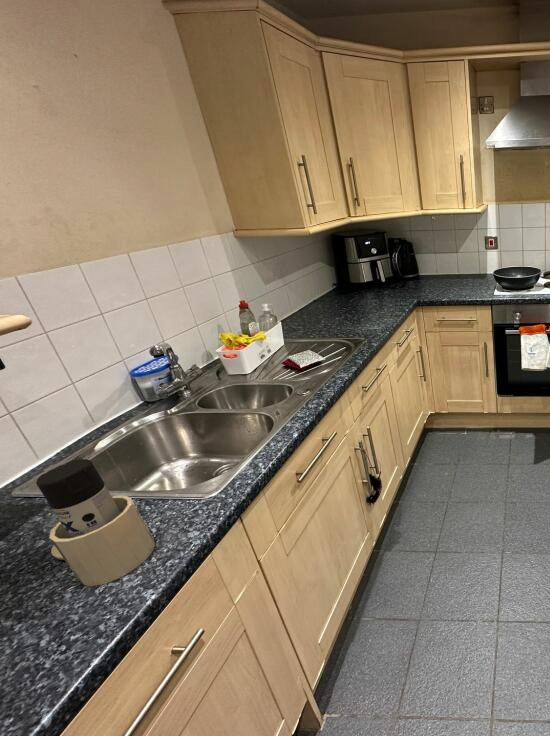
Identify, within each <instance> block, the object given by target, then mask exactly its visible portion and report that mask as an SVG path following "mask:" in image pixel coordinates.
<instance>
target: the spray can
mask: <svg viewBox="0 0 550 736" xmlns="http://www.w3.org/2000/svg"><path fill="white" fill-rule="evenodd" d="M93 463H94V462H92V461H91V460H90V459H87V458H80V459H75V460H71V461H67V462H65V463H64V464H60V465H58V466H56V467H54V468H52V469H50V470H48V471H47V472H44V473H43V474H41V475H40V476H38V478H37V479H36V482H35V483H36V485H37V487H38V489H39V491H40V492H41V494H42V496H43V497H44V499H45V501H46V503H48V506H49V507H50V509H51V510H52V512H53V513H54V515H55V517H56V518H57V520H58V521H59V522H61V524H62V525H63V527H64V528H65V530H66V531H67V533H68V535H69V536H70V538H74V537H78V536H82V535H85V534H87V533H89V532H92V531H94V530H97V529H99V528H101V527H102V526H104V525H106V524H107V523H109V522H111V521H112V520H114V519H115V518H116V517H117V516H119V515H120V514H121V512H120V510H119V508H118V506H117V505H116V503H115V501H114V499H113V498H112V496H113V495H112V494H111V493H110V491H109V489H108V487H107V485H106V483H105V482H104V479H103V478H102V476H101V475H100V474H99V472H98V470H97V468H96V467H95V465H94V464H93Z"/></svg>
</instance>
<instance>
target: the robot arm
mask: <svg viewBox="0 0 550 736" xmlns="http://www.w3.org/2000/svg"><path fill="white" fill-rule="evenodd" d="M5 369H6V365H5V363H4V362H3V360H2V358H1V357H0V371H4V370H5Z"/></svg>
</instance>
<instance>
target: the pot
mask: <svg viewBox="0 0 550 736" xmlns="http://www.w3.org/2000/svg"><path fill="white" fill-rule="evenodd" d="M111 496H112V498H113V499H114V501H115V503H116V505H117V506H118V508H119V510H120V512H121V514H120V515H119V516H117V517H116V518H115V519H114V520H112V521H111V522H109V523H107V524H106V525H104V526H102V527H101V528H99V529H97V530H94V531H92V532H89V533H87V534H85V535H82V536H78V537H74V538H70V536H69V535H68V533H67V531H66V530H65V528H64V527H63V525H62V524H61V522H60V521H59V522H57V523H56V524H55V525H54V527H52V529H51V530H50V533H49V540H50V541H51V542H52V544H53V546H54V545H55V547H56V548H57V550H58V551H59V553H60V554H61V555H62V557H63V558H64V559H63V560H64V561H65V563H66V564H67V566H68V567H69V569H70V570H71V572H72V573H73V574H74V576H75V577H76V579H77V580H78V581H79V582H80V583H81V584H82V585H83V586H85V587H97V586H103V585H105V584H109V583H112V582H114V581H116V580H118V579H120V578H122V577H124V576H126V575H128V574H129V573H131V572H133V571H134V570H135V569H137V568H138V567H140V566H141V565H142V564H143V563H144V562H146V560H147V559H148V558H150V556H151V555H152V553H153V552H154V550H155V548H156V541H155V538H154V537H153V534H152V533H151V531H150V529H149V527H148V526H147V523H146V522H145V520H144V518H143V516H142V515H141V513H140V511H139V510H138V508H137V506H136V504H135V502H134V500H133V498H131V497H130V496H127V495H111Z"/></svg>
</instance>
